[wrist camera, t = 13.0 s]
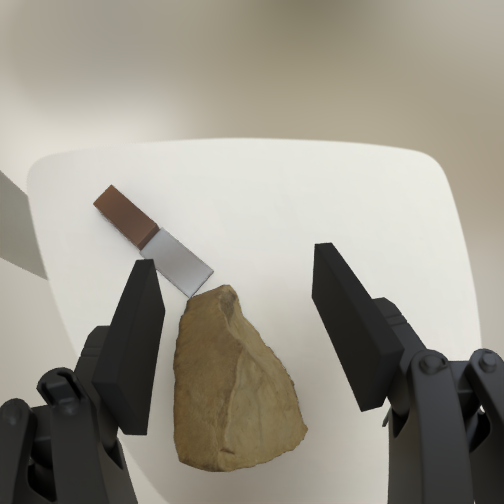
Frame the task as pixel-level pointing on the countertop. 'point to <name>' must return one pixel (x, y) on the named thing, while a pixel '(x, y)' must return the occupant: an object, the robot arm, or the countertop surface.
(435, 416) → the robot arm
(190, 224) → the countertop surface
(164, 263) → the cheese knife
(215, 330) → the rock
